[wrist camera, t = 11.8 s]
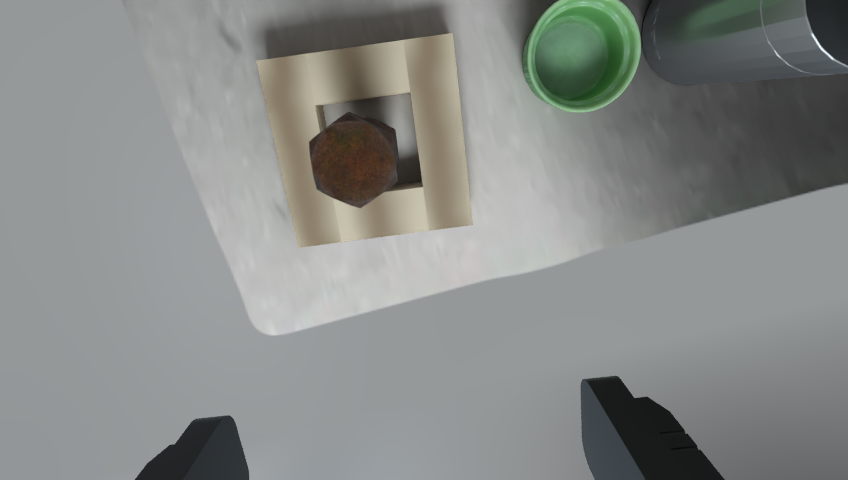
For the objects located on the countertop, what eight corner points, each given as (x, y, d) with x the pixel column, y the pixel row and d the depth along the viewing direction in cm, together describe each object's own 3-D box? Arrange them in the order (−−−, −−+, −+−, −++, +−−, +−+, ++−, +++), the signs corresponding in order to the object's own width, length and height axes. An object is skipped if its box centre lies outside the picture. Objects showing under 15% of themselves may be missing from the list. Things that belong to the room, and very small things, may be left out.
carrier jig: (450, 38, 39) (452, 32, 36) (469, 216, 44) (472, 224, 41) (268, 63, 39) (256, 60, 36) (305, 238, 44) (298, 247, 41)
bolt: (343, 113, 41) (302, 116, 26) (399, 108, 41) (389, 108, 26) (352, 177, 42) (318, 213, 28) (406, 172, 42) (400, 206, 28)
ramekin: (635, 74, 40) (660, 71, 36) (546, 131, 41) (561, 134, 37) (589, -21, 38) (610, -36, 34) (496, 43, 39) (506, 35, 35)
